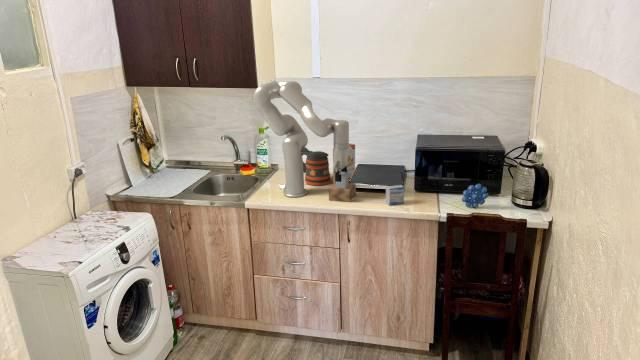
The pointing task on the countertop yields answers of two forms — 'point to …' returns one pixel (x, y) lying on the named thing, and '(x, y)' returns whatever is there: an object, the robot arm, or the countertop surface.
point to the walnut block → (342, 193)
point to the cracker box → (350, 162)
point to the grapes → (475, 195)
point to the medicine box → (394, 195)
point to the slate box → (343, 181)
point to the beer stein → (316, 168)
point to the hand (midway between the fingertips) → (341, 178)
